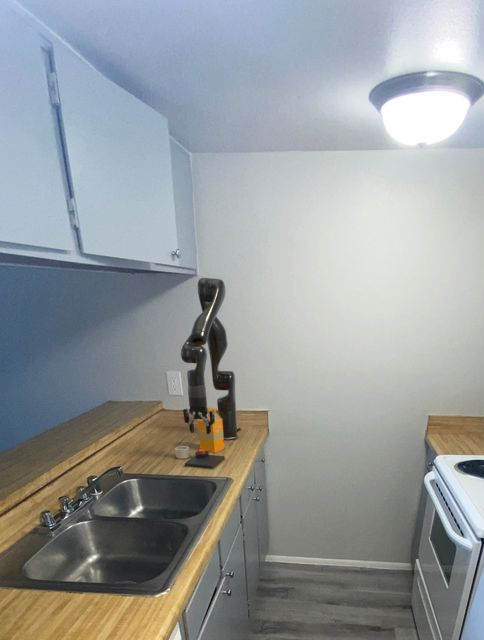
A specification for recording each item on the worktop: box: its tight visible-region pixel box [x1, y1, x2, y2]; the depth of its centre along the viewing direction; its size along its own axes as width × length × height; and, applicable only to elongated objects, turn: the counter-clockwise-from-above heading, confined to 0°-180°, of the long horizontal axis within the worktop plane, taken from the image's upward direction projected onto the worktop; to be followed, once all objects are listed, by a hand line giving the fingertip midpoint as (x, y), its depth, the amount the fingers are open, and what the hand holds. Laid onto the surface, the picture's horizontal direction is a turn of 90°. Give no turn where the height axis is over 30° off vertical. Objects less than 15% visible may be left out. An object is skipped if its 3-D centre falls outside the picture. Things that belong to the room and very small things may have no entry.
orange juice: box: [197, 406, 225, 453], centre depth 224 cm, size 8×9×20 cm
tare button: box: [197, 448, 205, 454], centre depth 214 cm, size 3×3×2 cm
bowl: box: [174, 445, 191, 460], centre depth 216 cm, size 6×6×4 cm
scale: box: [184, 450, 226, 470], centre depth 211 cm, size 14×13×3 cm
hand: (200, 433), depth 210 cm, fingers open, 7 cm apart
